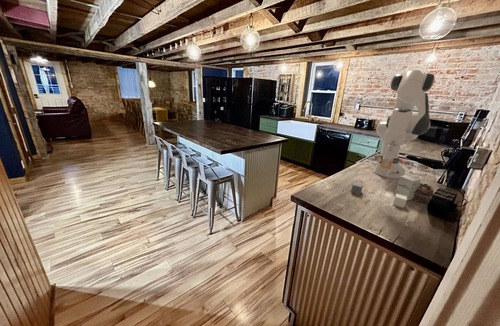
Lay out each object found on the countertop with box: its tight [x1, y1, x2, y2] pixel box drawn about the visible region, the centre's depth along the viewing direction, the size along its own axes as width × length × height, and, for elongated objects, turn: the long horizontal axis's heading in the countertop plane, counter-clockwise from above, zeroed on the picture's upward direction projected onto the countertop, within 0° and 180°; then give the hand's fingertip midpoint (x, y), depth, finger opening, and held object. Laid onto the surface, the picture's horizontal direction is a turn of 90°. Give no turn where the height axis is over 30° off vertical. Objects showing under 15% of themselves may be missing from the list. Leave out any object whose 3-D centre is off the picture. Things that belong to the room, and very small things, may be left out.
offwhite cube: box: [392, 194, 408, 209], centre depth 112 cm, size 5×5×5 cm
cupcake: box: [412, 182, 434, 204], centre depth 117 cm, size 10×10×10 cm
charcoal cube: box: [350, 181, 364, 196], centre depth 123 cm, size 5×5×5 cm
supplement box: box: [394, 174, 422, 201], centre depth 119 cm, size 7×7×13 cm
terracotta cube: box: [380, 156, 394, 169], centre depth 111 cm, size 5×5×5 cm
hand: (386, 164), depth 111 cm, fingers closed on terracotta cube, 5 cm apart
